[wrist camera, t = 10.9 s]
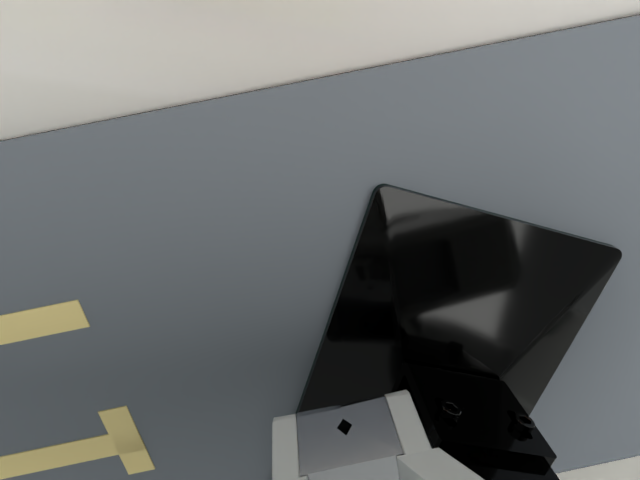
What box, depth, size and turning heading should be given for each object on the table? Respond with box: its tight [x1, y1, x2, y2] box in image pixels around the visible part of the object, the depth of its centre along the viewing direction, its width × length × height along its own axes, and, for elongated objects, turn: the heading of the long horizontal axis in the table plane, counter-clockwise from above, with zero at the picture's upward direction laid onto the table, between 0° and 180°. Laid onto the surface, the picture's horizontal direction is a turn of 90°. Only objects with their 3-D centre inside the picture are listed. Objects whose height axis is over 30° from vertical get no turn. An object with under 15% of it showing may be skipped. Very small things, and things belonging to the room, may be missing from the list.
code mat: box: [0, 15, 640, 480], centre depth 13 cm, size 14×29×1 cm, turn 100°
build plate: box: [295, 183, 622, 480], centre depth 12 cm, size 12×7×5 cm, turn 163°
